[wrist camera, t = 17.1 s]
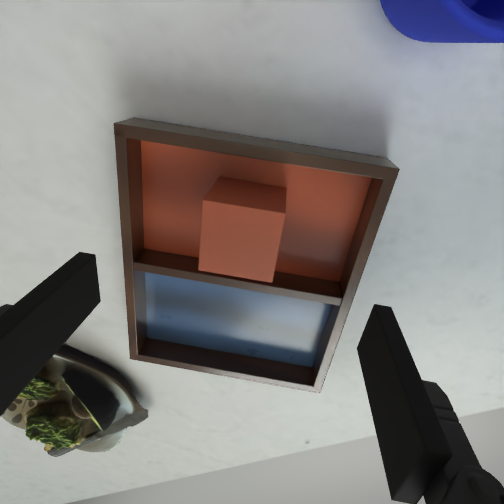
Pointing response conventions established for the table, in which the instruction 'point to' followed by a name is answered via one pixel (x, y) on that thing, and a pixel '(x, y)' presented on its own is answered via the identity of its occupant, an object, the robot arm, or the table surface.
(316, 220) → the tray
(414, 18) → the mug
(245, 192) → the terracotta block
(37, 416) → the salad plate
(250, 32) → the table surface
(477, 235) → the table surface
